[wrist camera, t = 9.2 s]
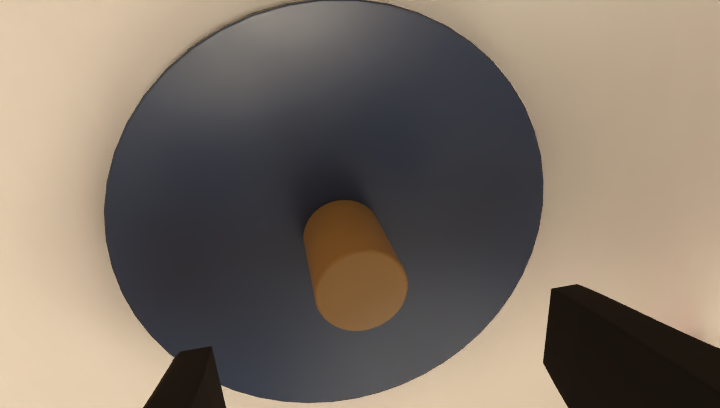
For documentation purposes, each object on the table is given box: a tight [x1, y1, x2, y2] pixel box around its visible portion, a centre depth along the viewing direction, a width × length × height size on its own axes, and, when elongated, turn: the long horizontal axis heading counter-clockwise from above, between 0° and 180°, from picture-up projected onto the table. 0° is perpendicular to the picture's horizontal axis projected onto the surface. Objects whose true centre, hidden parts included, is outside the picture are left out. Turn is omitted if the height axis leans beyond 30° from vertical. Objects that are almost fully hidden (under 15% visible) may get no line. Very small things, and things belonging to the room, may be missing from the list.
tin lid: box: [104, 0, 543, 403], centre depth 14 cm, size 14×14×4 cm
